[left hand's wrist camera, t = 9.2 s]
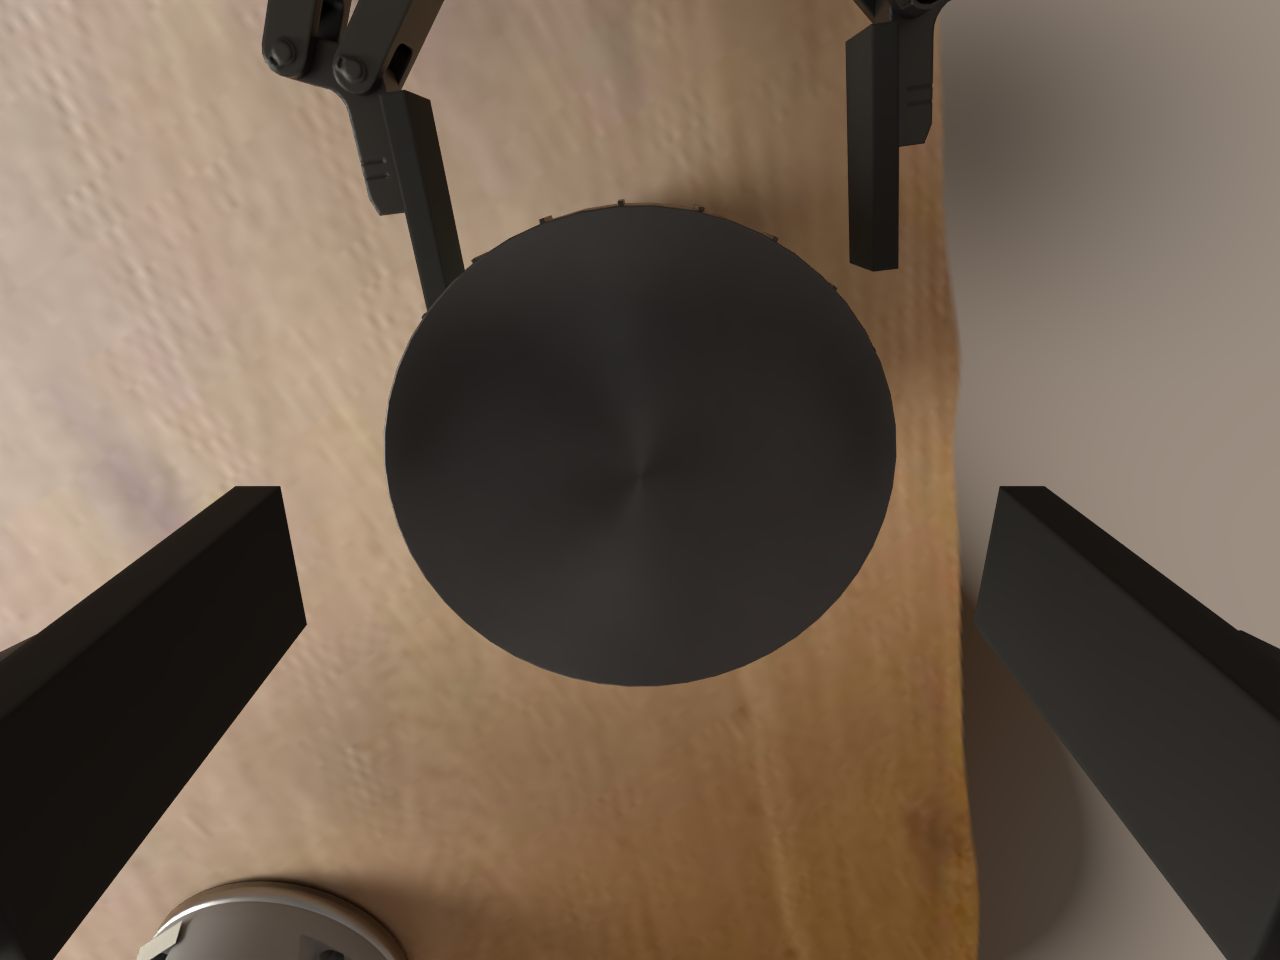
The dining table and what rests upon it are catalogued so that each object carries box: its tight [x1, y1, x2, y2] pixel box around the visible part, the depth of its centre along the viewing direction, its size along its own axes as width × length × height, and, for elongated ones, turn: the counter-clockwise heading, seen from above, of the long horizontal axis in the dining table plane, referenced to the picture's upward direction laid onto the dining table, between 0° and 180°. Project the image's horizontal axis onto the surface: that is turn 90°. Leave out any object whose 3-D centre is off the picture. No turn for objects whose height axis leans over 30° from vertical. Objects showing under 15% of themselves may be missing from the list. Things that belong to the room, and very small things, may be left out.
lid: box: [384, 199, 896, 687], centre depth 18 cm, size 11×12×2 cm
